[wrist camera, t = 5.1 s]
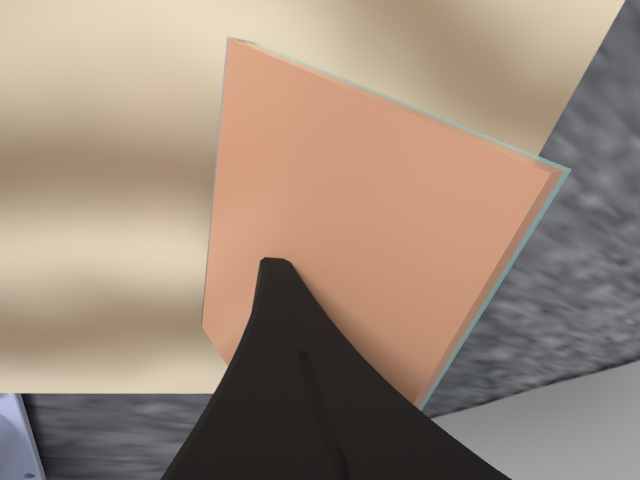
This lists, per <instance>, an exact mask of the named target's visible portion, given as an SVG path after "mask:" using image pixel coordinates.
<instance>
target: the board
mask: <svg viewBox="0 0 640 480" xmlns="http://www.w3.org/2000/svg"><path fill="white" fill-rule="evenodd" d="M624 2H625V0H0V393H214V392H215V390H216V389H217V387H218V385H219V383H220V381H221V379H222V378H223V376H224V374H225V372H226V370H227V368H228V366H227V364H226V363H225V361H224V360H223V358H222V357H221V355H220V354H219V352H218V351H217V349H216V348H215V346H214V345H213V343H212V342H211V340H210V339H209V337H208V335H207V334H206V332H205V331H204V329H203V328H202V326H201V317H202V306H203V295H204V284H205V273H206V262H207V251H208V240H209V229H210V218H211V207H212V196H213V185H214V174H215V163H216V152H217V141H218V130H219V119H220V108H221V97H222V86H223V75H224V64H225V52H226V41H227V37H234V38H239V39H243V40H247V41H251V42H254V43H257V44H259V45H262V46H264V47H267V48H269V49H272V50H274V51H277V52H279V53H282V54H284V55H287V56H289V57H292V58H294V59H297V60H299V61H302V62H304V63H307V64H309V65H312V66H314V67H317V68H319V69H322V70H324V71H327V72H329V73H332V74H334V75H337V76H339V77H342V78H344V79H347V80H349V81H352V82H354V83H357V84H359V85H362V86H364V87H367V88H369V89H372V90H374V91H377V92H379V93H382V94H384V95H387V96H389V97H392V98H394V99H397V100H399V101H402V102H404V103H407V104H409V105H412V106H414V107H417V108H419V109H422V110H424V111H427V112H429V113H432V114H434V115H437V116H439V117H442V118H444V119H447V120H449V121H452V122H454V123H457V124H459V125H462V126H464V127H467V128H469V129H472V130H474V131H477V132H479V133H482V134H484V135H487V136H489V137H492V138H494V139H497V140H499V141H502V142H504V143H507V144H509V145H512V146H514V147H517V148H519V149H522V150H524V151H527V152H529V153H532V154H534V155H537V156H538V155H539V153H540V151H541V150H542V148H543V146H544V144H545V142H546V141H547V139H548V137H549V135H550V134H551V132H552V130H553V128H554V126H555V125H556V123H557V121H558V119H559V118H560V116H561V114H562V112H563V110H564V109H565V107H566V105H567V103H568V101H569V100H570V98H571V96H572V94H573V93H574V91H575V89H576V87H577V85H578V84H579V82H580V80H581V78H582V76H583V75H584V73H585V71H586V69H587V68H588V66H589V64H590V62H591V60H592V59H593V57H594V55H595V53H596V52H597V50H598V48H599V46H600V44H601V43H602V41H603V39H604V37H605V35H606V34H607V32H608V30H609V28H610V27H611V25H612V23H613V21H614V19H615V18H616V16H617V14H618V12H619V11H620V9H621V7H622V5H623V3H624Z"/></svg>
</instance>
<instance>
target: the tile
mask: <svg viewBox="0 0 640 480" xmlns="http://www.w3.org/2000/svg"><path fill="white" fill-rule="evenodd" d="M571 170H572V169H569V168H567V167H564V166H562V165H559V164H557V163H554V162H552V161H549V160H547V159H544V158H542V157H539V156H537V155H534V154H532V153H529V152H527V151H524V150H522V149H519V148H517V147H514V146H512V145H509V144H507V143H504V142H502V141H499V140H497V139H494V138H492V137H489V136H487V135H484V134H482V133H479V132H477V131H474V130H472V129H469V128H467V127H464V126H462V125H459V124H457V123H454V122H452V121H449V120H447V119H444V118H442V117H439V116H437V115H434V114H432V113H429V112H427V111H424V110H422V109H419V108H417V107H414V106H412V105H409V104H407V103H404V102H402V101H399V100H397V99H394V98H392V97H389V96H387V95H384V94H382V93H379V92H377V91H374V90H372V89H369V88H367V87H364V86H362V85H359V84H357V83H354V82H352V81H349V80H347V79H344V78H342V77H339V76H337V75H334V74H332V73H329V72H327V71H324V70H322V69H319V68H317V67H314V66H312V65H309V64H307V63H304V62H302V61H299V60H297V59H294V58H292V57H289V56H287V55H284V54H282V53H279V52H277V51H274V50H272V49H269V48H267V47H264V46H262V45H259V44H257V43H254V42H251V41H247V40H243V39H239V38H234V37H227V41H226V52H225V64H224V75H223V86H222V97H221V108H220V119H219V130H218V141H217V152H216V163H215V174H214V185H213V196H212V207H211V218H210V229H209V240H208V251H207V262H206V273H205V284H204V295H203V306H202V317H201V326H202V328H203V329H204V331H205V332H206V334H207V335H208V337H209V339H210V340H211V342H212V343H213V345H214V346H215V348H216V349H217V351H218V352H219V354H220V355H221V357H222V358H223V360H224V361H225V363H226V364H227V366H229V364H230V362H231V360H232V358H233V356H234V353H235V351H236V349H237V347H238V345H239V342H240V340H241V338H242V335H243V333H244V330H245V328H246V325H247V323H248V320H249V318H250V315H251V311H252V305H253V299H254V293H255V288H256V282H257V276H258V270H259V264H260V260H262V259H263V258H264V257H270V258H283V259H286V260H288V261H290V262H291V263H292V265H293V267H294V268H295V269H296V271H297V273H298V274H299V276H300V277H301V279H302V280H303V282H304V283H305V285H306V286H307V287H308V289H309V290H310V292H311V293H312V295H313V296H314V297H315V299H316V300H317V302H318V303H319V304H320V306H321V307H322V308H323V310H324V311H325V312H326V314H327V315H328V316H329V318H330V319H331V320H332V321H333V323H334V324H335V325H336V326H337V328H338V329H339V330H340V331H341V333H342V334H343V335H344V336H345V337H346V338H347V340H348V341H349V342H350V343H351V344H352V346H353V347H354V348H355V349H356V350H357V351H358V352H359V353H360V354H361V355H362V356H363V358H364V359H365V360H366V361H367V362H368V363H369V364H370V365H371V366H372V367H373V368H374V369H375V370H376V371H377V372H378V373H379V374H380V375H381V376H382V377H383V378H384V379H385V380H386V381H387V382H389V383H390V384H391V385H392V386H393V387H394V388H395V389H396V390H397V391H398V392H399V393H400V394H402V395H403V396H404V397H405V398H406V399H407V400H409V401H410V402H411V403H412V404H413V405H414V406H415V407H417V408H418V409H419V410H420V411H422V409H423V407H424V406H425V404H426V403H427V401H428V399H429V398H430V396H431V395H432V393H433V391H434V390H435V388H436V387H437V385H438V383H439V382H440V380H441V379H442V377H443V375H444V374H445V372H446V370H447V369H448V367H449V366H450V364H451V362H452V361H453V359H454V358H455V356H456V354H457V353H458V351H459V350H460V348H461V346H462V345H463V343H464V342H465V340H466V338H467V337H468V335H469V334H470V332H471V330H472V329H473V327H474V326H475V324H476V322H477V321H478V319H479V317H480V316H481V314H482V313H483V311H484V309H485V308H486V306H487V305H488V303H489V301H490V300H491V298H492V297H493V295H494V293H495V292H496V290H497V289H498V287H499V285H500V284H501V282H502V281H503V279H504V277H505V276H506V274H507V272H508V271H509V269H510V268H511V266H512V264H513V263H514V261H515V260H516V258H517V256H518V255H519V253H520V252H521V250H522V248H523V247H524V245H525V244H526V242H527V240H528V239H529V237H530V236H531V234H532V232H533V231H534V229H535V228H536V226H537V224H538V223H539V221H540V219H541V218H542V216H543V215H544V213H545V211H546V210H547V208H548V207H549V205H550V203H551V202H552V200H553V199H554V197H555V195H556V194H557V192H558V191H559V189H560V187H561V186H562V184H563V183H564V181H565V179H566V178H567V176H568V174H569V173H570V171H571Z"/></svg>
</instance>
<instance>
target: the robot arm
mask: <svg viewBox="0 0 640 480" xmlns="http://www.w3.org/2000/svg"><path fill="white" fill-rule="evenodd" d="M0 480H46V477H45V473H44V470H43V467H42V463H41V460H40V457H39V453H38V450H37V447H36V443H35V440H34V436H33V433H32V430H31V426H30V423H29V420H28V416H27V413H26V410H25V406H24V403H23V400H22V396H21V393H0ZM160 480H512V479H510V478H509V477H507V476H506V475H504V474H502V473H501V472H500V471H498V470H496V469H495V468H494V467H492V466H491V465H489V464H488V463H487V462H485V461H484V460H483V459H481V458H480V457H479V456H477V455H476V454H475V453H473V452H472V451H471V450H469V449H468V448H467V447H465V446H464V445H462V444H461V443H460V442H459V441H457V440H456V439H454V438H453V437H452V436H451V435H449V434H448V433H447V432H446V431H444V430H443V429H442V428H441V427H439V426H438V425H437V424H436V423H434V422H433V421H432V420H431V419H429V418H428V417H427V416H426V415H425V414H424V413H422V412H421V411H420V410H419V409H418V408H417V407H415V406H414V405H413V404H412V403H411V402H410V401H409V400H407V399H406V398H405V397H404V396H403V395H402V394H400V393H399V392H398V391H397V390H396V389H395V388H394V387H393V386H392V385H391V384H390V383H389V382H387V381H386V380H385V379H384V378H383V377H382V376H381V375H380V374H379V373H378V372H377V371H376V370H375V369H374V368H373V367H372V366H371V365H370V364H369V363H368V362H367V361H366V360H365V359H364V358H363V356H362V355H361V354H360V353H359V352H358V351H357V350H356V349H355V348H354V347H353V346H352V344H351V343H350V342H349V341H348V340H347V338H346V337H345V336H344V335H343V334H342V333H341V331H340V330H339V329H338V328H337V326H336V325H335V324H334V323H333V321H332V320H331V319H330V318H329V316H328V315H327V314H326V312H325V311H324V310H323V308H322V307H321V306H320V304H319V303H318V302H317V300H316V299H315V297H314V296H313V295H312V293H311V292H310V290H309V289H308V287H307V286H306V285H305V283H304V282H303V280H302V279H301V277H300V276H299V274H298V273H297V271H296V269H295V268H294V267H293V265H292V263H291V262H290V261H288V260H286V259H283V258H270V257H264V258H263V259H262V260H260V264H259V270H258V276H257V282H256V288H255V293H254V299H253V305H252V311H251V315H250V318H249V320H248V323H247V325H246V328H245V330H244V333H243V335H242V338H241V340H240V342H239V345H238V347H237V349H236V351H235V353H234V356H233V358H232V360H231V362H230V364H229V366H228V368H227V370H226V372H225V374H224V376H223V378H222V379H221V381H220V383H219V385H218V387H217V389H216V390H215V392H214V394H213V396H212V398H211V399H210V401H209V403H208V405H207V406H206V408H205V410H204V412H203V413H202V415H201V417H200V418H199V420H198V422H197V423H196V425H195V427H194V428H193V430H192V432H191V433H190V435H189V436H188V438H187V439H186V441H185V442H184V444H183V445H182V447H181V449H180V450H179V452H178V453H177V455H176V456H175V458H174V459H173V461H172V462H171V464H170V466H169V467H168V469H167V470H166V472H165V473H164V475H163V476H162V478H161V479H160Z"/></svg>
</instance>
